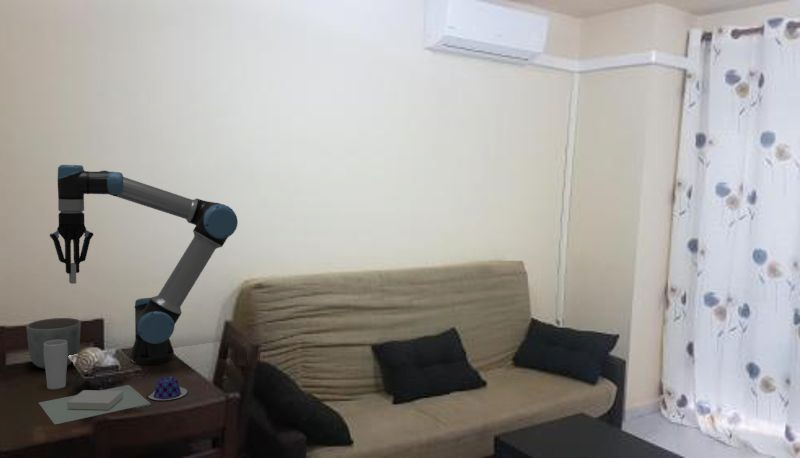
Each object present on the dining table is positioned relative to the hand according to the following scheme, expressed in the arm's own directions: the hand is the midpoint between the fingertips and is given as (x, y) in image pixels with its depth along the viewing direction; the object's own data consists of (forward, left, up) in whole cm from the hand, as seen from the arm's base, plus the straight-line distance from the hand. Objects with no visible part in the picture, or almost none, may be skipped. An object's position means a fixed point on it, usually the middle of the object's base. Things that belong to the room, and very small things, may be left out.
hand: (72, 282), depth 208 cm
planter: (+2, -18, -33) cm, 37 cm away
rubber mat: (+1, +29, -32) cm, 44 cm away
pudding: (-19, +33, -33) cm, 50 cm away
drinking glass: (+7, +7, -33) cm, 34 cm away
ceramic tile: (+6, +26, -31) cm, 40 cm away
